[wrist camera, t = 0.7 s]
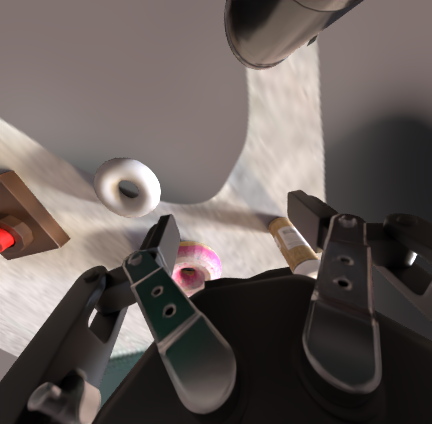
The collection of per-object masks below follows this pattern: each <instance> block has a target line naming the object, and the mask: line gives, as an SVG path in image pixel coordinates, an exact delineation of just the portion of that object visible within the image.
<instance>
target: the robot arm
mask: <svg viewBox="0 0 432 424" xmlns="http://www.w3.org/2000/svg"><path fill="white" fill-rule="evenodd" d="M362 1H363V0H226V5H225V13H224V21H225V32H226V36H227V40H228V43H229V46H230V48H231V50H232V52H233V54H234V55H235V56H236V58H237V59H238V60H239V61H240V62H241V63H242V64H244V65H245V66H247V67H249V68H252V69H256V70H265V69H269V68H272V67H274V66H276V65H277V64H279V63H280V62H282V61H283V60H284V59H286V58H287V57H288V56H289V55H290V54H291V53H293V52H294V51H295V50H297V49H298V48H300V47H301V46H302V45H304V44H305V43H306V42H308V41H309V40H310V41H309V43H308V45H310V44H311V43H313V42H314V41H315V39H316V37H317V35H318V33H320V32H321V31H323V30H324V29H325V28H327V27H328V26H329V25H330V24H332V23H333V22H335V21H336V20H337V19H339V18H340V17H342V16H343V15H344V14H346V13H347V12H348V11H350V10H351V9H352V8H354V7H355V6H356V5H358V4H359V3H361V2H362ZM308 45H307V46H308ZM287 213H288V218H289V220H290V222H291V223H292V224H293V226H294V227H295V228H296V229H297V231H298V232H299V233H300V234H301V236H302V237H303V238H304V239H305V241H306V242H307V243H308V244H309V246H310V247H311V248H312V249H313V251H314V252H315V253H321V252H322V257H321V261H320V265H319V269H318V274H317V278H316V279H315V278H312V277H309V276H306V275H302V274H293V272H292V271H291V269H290V267H285V268H279V269H273V270H268V271H265V272H263V273H261V274H258V275H256V276H253V277H251V278H248V279H242V278H220V279H214V280H208V281H204V288H203V289H201V290H199V291H197V292H196V293H194V294H193V295H192V296H190V297H189V298H188V297H187V295H186V294H185V293H184V292H183V291H182V289H181V288H180V287H179V286H178V284H177V283H176V282H175V281H174V280H173V278H172V275H173V270H174V266H175V261H176V257H177V253H178V248H179V244H180V233H179V230H178V227H177V225H176V222H175V219H174V216H173V215H172V214H170V215H165V216H161V217H160V219H159V221H158V223H157V224H155V225H154V226H152V227H151V228H150V230H149V231H148V233H147V235H146V237H145V239H144V241H143V243H142V245H141V247H140V249H139V251H136V252H134V253H132V254H130V255H129V256H127V257H126V258H125V260H124V261H123V263H122V266H121V267H118V268H116V269H113V270H111V271H107V269H106V268H105V267H104V266H96V267H93V268H91V269H89V270H87V271H86V272H84V273H83V274H82V275H81V276H80V277H79V278H78V279H77V280H76V281H75V283H74V284H73V285H72V287H71V288H70V289H69V291H68V292H67V293H66V295H65V296H64V297H63V299H62V300H61V301H60V303H59V304H58V305H57V307H56V308H55V309H54V311H53V312H52V313H51V315H50V316H49V317H48V319H47V320H46V321H45V323H44V324H43V325H42V327H41V328H40V329H39V331H38V332H37V333H36V335H35V336H34V337H33V339H32V340H31V341H30V343H29V344H28V345H27V347H26V348H25V349H24V351H23V352H22V353H21V355H20V356H19V357H18V359H17V360H16V361H15V363H14V364H13V365H12V367H11V368H10V369H9V371H8V372H7V374H6V375H5V376H4V378H3V379H2V380H1V382H0V424H432V341H431V340H429V339H427V338H425V337H424V336H422V335H420V334H418V333H416V332H414V331H412V330H411V329H409V328H407V327H405V326H403V325H401V324H399V323H398V322H396V321H394V320H392V319H390V318H388V317H386V316H385V315H383V314H381V313H379V312H377V311H375V310H374V293H373V277H372V266H374V267H375V268H376V269H377V270H378V271H379V272H380V273H381V274H382V275H383V276H384V277H385V278H386V279H388V280H389V281H390V282H391V283H392V284H393V285H394V286H395V287H396V288H397V289H398V290H399V291H400V292H401V293H402V294H403V295H404V296H405V297H406V298H407V299H408V300H409V301H410V302H411V303H412V304H413V305H414V306H415V307H416V308H417V309H418V310H419V311H420V312H422V314H423V315H424V316H425V317H426V318H428V319H429V320H430V321H431V322H432V275H431V274H429V273H428V272H427V271H425V270H424V269H423V268H421V267H420V266H419V265H417V264H416V263H415V262H414V259H415V257H416V255H417V254H418V255H419V256H420V257H422V258H423V259H425V260H426V261H427V262H429V263H430V264H431V265H432V223H430V222H428V221H427V220H424V219H422V218H420V217H417V216H414V215H408V214H390V215H388V216H386V218H385V221H384V223H366V222H365V221H364V220H363V219H362V218H360V217H358V216H355V215H350V214H339V213H338V212H337V211H335V210H334V209H332V208H331V207H330V206H327V204H326V203H324V202H323V201H321V200H320V199H319V198H317V197H314V196H311V195H309V196H308V195H307V194H306V193H304V192H303V191H302V190H297V191H292V192H289V193H288V207H287ZM136 302H137V303H138V305H139V307H140V309H141V312H142V314H143V316H144V318H145V320H146V322H147V325H148V327H149V329H150V331H151V333H152V336H153V338H154V341H153V343H152V344H151V345H150V346H149V348H148V349H147V350H146V351H145V353H144V354H143V355H142V357H141V358H140V359H139V360H138V362H137V363H136V364H135V365H134V367H133V368H132V369H131V371H130V372H129V373H128V374H127V376H126V377H125V378H124V379H123V381H122V382H121V383H120V385H119V386H118V387H117V388H116V390H115V391H114V392H113V393H112V395H111V396H110V397H109V399H108V400H107V401H106V402H105V404H104V405H103V407H102V408H101V409H100V410H99V408H100V403H101V395H100V392H99V390H98V389H99V386H100V383H101V380H102V377H103V375H104V372H105V369H106V367H107V364H108V361H109V358H110V356H111V353H112V350H113V347H114V345H115V342H116V339H117V336H118V334H119V331H120V328H121V325H122V323H123V320H124V317H125V314H126V312H127V309H128V306H130V305H132V304H134V303H136ZM94 308H95V309H96V310H97V313H96V315H95V317H94V319H93V321H92V323H91V325H90V327H88V321H89V317H90V315H91V313H92V312H93V310H94Z"/></svg>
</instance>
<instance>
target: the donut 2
mask: <svg viewBox="0 0 432 424" xmlns="http://www.w3.org/2000/svg"><path fill="white" fill-rule="evenodd" d="M182 268H193V269H195V270H193V271H186V270H183V269H182ZM220 275H221V263H220V259H219V257H218V256H217V254H216V253H215V252H214V251H213V250H212V249H211V248H209V247H208V246H206V245H204V244H201V243H197V242H191V241H182V242H180V244H179V248H178V253H177V257H176V261H175V266H174V270H173V275H172V278H173V280H174V281H175V282H176V283H177V284H178V286H179V287H180V288H181V289H182V291H183V292H184V293H185V294H186V295H187V296H192V295H193V294H194V293H196V292H197V291H199V290H201V289H203V288H204V281H208V280H214V279H219V277H220Z"/></svg>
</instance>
